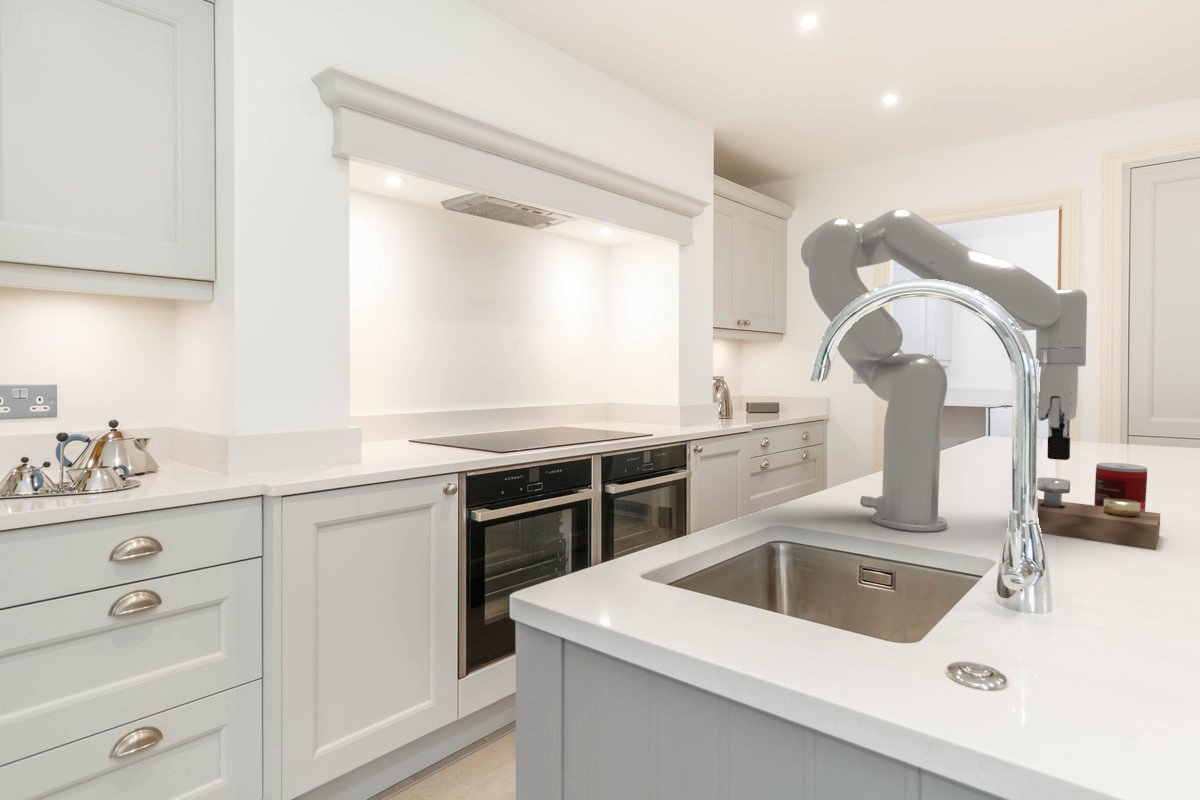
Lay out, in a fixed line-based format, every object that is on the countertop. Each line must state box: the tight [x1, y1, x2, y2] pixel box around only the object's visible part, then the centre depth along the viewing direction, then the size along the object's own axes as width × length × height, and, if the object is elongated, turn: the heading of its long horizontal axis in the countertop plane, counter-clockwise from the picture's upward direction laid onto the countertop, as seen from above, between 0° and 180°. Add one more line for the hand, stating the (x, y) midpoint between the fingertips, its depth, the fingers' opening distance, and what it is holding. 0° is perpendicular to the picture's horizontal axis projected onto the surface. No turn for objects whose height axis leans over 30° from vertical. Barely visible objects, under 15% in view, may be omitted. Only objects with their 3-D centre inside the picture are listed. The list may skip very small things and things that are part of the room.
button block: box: [1037, 498, 1161, 550], centre depth 119 cm, size 20×12×4 cm, turn 48°
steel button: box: [1036, 477, 1071, 509], centre depth 122 cm, size 5×5×6 cm
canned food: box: [1093, 462, 1148, 512], centre depth 126 cm, size 8×8×11 cm
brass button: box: [1103, 498, 1140, 517], centre depth 116 cm, size 5×5×6 cm
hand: (1058, 458), depth 122 cm, fingers closed
